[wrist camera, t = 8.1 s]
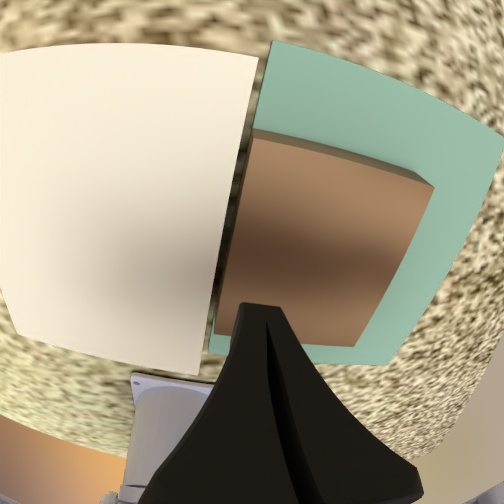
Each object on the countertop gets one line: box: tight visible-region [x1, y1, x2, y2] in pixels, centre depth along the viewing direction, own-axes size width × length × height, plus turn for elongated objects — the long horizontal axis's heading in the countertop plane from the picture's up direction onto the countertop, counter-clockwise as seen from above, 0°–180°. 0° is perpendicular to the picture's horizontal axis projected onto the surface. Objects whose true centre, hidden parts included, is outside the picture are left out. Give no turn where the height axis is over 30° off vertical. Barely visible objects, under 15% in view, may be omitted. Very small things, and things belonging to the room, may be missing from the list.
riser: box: [0, 43, 259, 375], centre depth 13 cm, size 16×12×3 cm
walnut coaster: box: [214, 128, 435, 347], centre depth 15 cm, size 10×8×2 cm
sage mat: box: [208, 40, 504, 365], centre depth 16 cm, size 18×14×1 cm
